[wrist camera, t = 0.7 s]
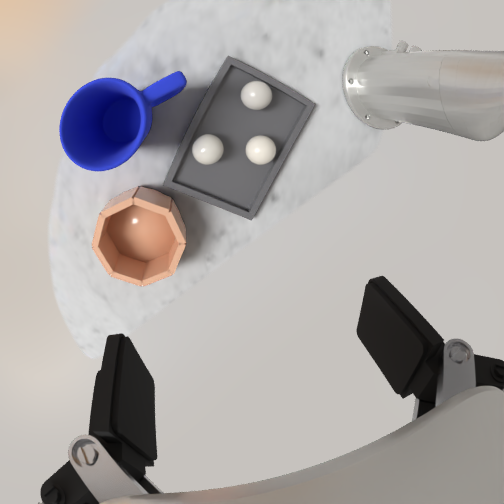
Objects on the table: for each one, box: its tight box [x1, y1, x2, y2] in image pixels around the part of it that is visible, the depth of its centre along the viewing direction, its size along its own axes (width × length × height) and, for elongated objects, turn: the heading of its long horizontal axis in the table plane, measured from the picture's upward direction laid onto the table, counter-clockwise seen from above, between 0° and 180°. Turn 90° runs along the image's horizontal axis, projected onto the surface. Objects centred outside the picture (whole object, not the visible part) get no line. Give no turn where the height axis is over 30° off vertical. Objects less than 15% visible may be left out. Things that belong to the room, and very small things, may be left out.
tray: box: [163, 56, 315, 220], centre depth 30 cm, size 17×12×1 cm
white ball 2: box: [241, 81, 272, 110], centre depth 27 cm, size 4×4×4 cm
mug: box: [60, 71, 187, 171], centre depth 22 cm, size 8×12×10 cm
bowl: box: [92, 186, 186, 286], centre depth 31 cm, size 11×11×5 cm
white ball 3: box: [246, 135, 276, 165], centre depth 30 cm, size 4×4×4 cm
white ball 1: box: [192, 134, 224, 165], centre depth 29 cm, size 4×4×4 cm
